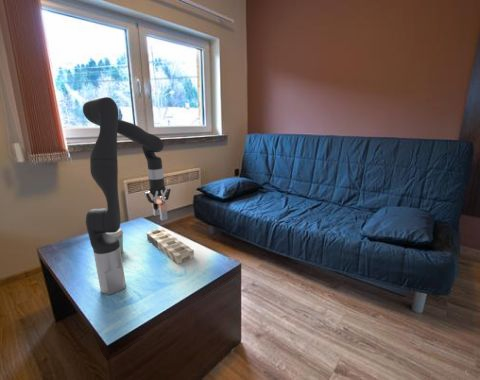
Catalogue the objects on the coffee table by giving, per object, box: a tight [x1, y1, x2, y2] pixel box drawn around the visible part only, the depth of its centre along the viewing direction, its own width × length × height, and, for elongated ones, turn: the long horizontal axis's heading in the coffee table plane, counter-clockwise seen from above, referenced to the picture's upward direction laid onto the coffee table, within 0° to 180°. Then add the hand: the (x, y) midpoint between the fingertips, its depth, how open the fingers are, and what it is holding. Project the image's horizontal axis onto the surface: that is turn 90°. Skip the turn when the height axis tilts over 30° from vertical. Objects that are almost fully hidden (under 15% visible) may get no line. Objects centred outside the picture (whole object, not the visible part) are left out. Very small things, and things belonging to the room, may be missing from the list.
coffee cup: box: [106, 227, 124, 253], centre depth 132 cm, size 8×8×12 cm
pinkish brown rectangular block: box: [151, 198, 168, 222], centre depth 138 cm, size 12×4×8 cm, turn 40°
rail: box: [146, 228, 195, 265], centre depth 136 cm, size 36×9×4 cm, turn 41°
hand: (159, 208), depth 138 cm, fingers closed on pinkish brown rectangular block, 3 cm apart
